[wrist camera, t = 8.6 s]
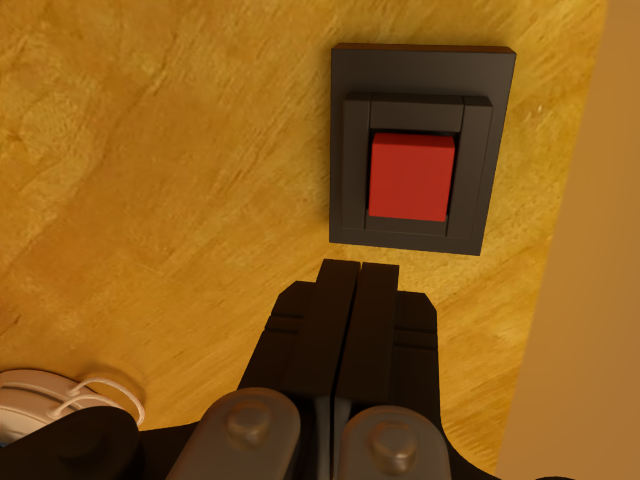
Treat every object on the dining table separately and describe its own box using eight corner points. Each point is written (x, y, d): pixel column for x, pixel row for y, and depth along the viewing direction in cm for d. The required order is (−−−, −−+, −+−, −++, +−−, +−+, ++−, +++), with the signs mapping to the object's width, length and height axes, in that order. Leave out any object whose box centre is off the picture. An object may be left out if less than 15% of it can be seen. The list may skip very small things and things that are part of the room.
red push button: (338, 42, 24) (324, 53, 20) (509, 46, 22) (524, 59, 19) (335, 225, 28) (323, 259, 25) (476, 237, 27) (483, 274, 24)
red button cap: (375, 131, 22) (372, 143, 20) (453, 135, 21) (455, 147, 20) (371, 200, 23) (368, 216, 22) (443, 206, 23) (445, 222, 21)
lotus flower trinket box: (36, 582, 43) (174, 523, 34) (-119, 476, 39) (-7, 379, 30) (83, 508, 49) (211, 442, 40) (-47, 410, 45) (63, 313, 36)
